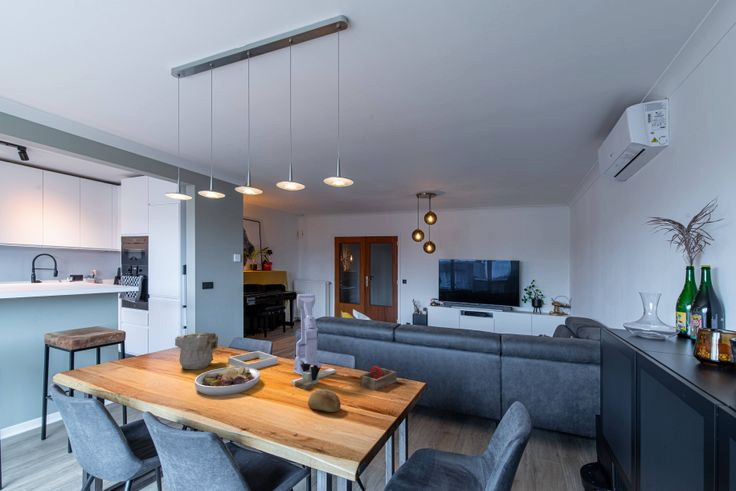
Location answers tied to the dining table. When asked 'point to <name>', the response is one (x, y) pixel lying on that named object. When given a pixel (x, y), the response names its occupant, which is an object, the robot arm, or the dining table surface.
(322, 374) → the white flat plank
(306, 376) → the cabinet block
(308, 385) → the cleat
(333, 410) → the bread roll
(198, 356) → the ceramic vessel
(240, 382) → the bowl
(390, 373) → the wooden box
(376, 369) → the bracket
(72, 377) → the dining table surface
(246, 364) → the frame
